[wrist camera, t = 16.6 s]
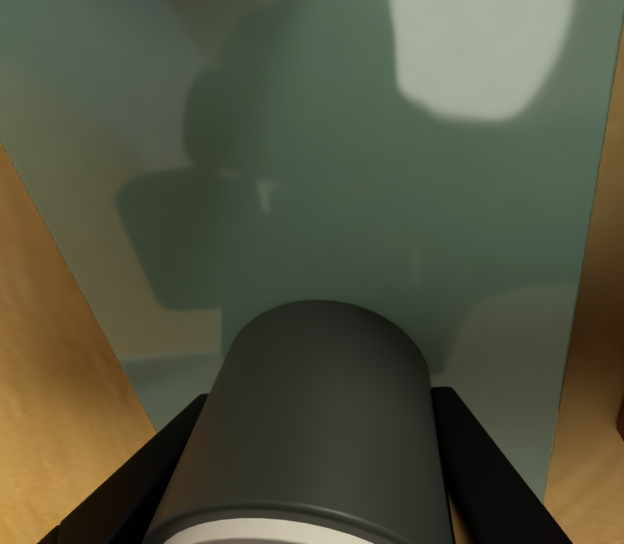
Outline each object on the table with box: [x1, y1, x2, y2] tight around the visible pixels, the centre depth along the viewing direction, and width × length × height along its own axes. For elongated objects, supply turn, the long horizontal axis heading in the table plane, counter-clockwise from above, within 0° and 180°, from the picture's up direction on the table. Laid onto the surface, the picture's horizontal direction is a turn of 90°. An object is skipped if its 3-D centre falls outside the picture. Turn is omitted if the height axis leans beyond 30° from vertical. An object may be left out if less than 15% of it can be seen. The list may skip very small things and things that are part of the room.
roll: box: [142, 300, 456, 544], centre depth 7 cm, size 5×5×5 cm
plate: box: [0, 0, 624, 504], centre depth 7 cm, size 20×10×1 cm, turn 10°
